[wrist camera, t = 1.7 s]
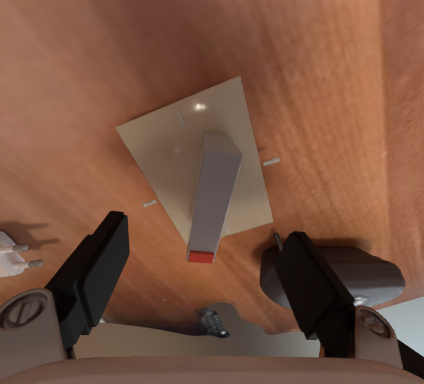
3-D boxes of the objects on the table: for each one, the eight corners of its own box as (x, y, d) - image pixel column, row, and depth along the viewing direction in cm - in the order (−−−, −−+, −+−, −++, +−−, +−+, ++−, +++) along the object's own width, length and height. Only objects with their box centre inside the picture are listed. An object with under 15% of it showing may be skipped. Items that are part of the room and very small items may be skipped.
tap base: (113, 127, 16) (95, 135, 13) (252, 70, 14) (263, 65, 12) (178, 233, 23) (175, 252, 20) (278, 202, 21) (289, 218, 18)
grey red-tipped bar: (203, 130, 14) (204, 150, 9) (230, 135, 14) (244, 156, 9) (189, 220, 18) (185, 263, 14) (210, 222, 18) (213, 265, 14)
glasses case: (248, 286, 28) (265, 332, 20) (251, 222, 26) (271, 246, 19) (356, 284, 29) (412, 327, 21) (366, 222, 27) (430, 245, 19)
